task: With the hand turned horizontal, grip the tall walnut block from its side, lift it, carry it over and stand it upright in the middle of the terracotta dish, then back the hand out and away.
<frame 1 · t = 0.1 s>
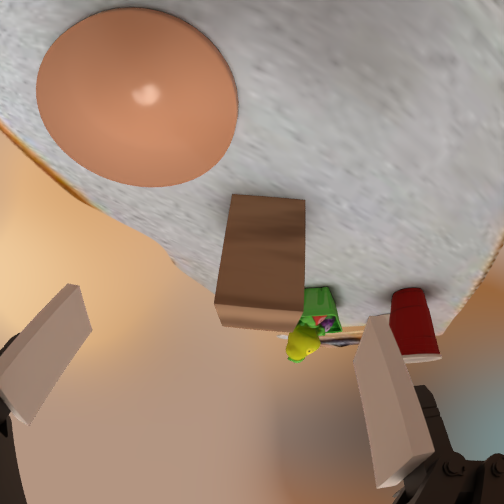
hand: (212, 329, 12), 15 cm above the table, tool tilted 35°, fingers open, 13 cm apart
walnut block: (267, 217, 31), on the table
dish: (129, 106, 19), on the table
plastic cup: (406, 293, 46), on the table
fruit basket: (314, 296, 50), on the table
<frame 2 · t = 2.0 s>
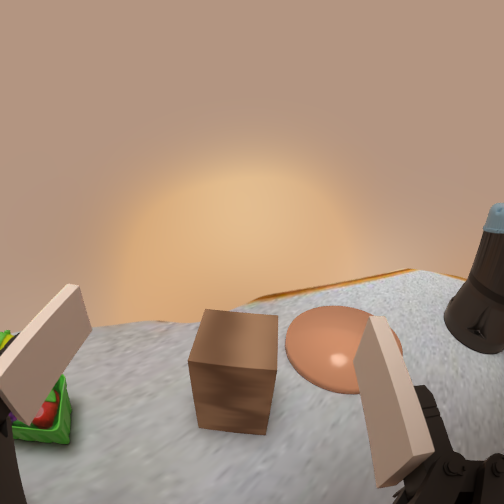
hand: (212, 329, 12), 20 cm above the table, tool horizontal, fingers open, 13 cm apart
walnut block: (235, 406, 30), on the table
dish: (344, 347, 39), on the table
fruit basket: (40, 421, 23), on the table
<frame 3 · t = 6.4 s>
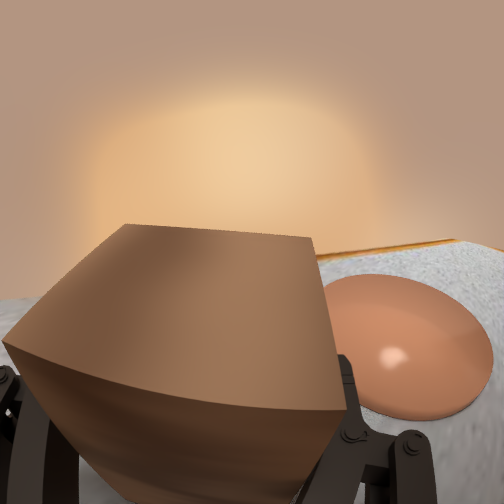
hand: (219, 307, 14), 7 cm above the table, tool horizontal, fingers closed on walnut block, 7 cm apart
walnut block: (207, 460, 12), on the table, touching gripper
dish: (404, 337, 21), on the table
when the fingers open (9 cm above the table, at t = 11.6 s): walnut block stays where it is, resting on dish.
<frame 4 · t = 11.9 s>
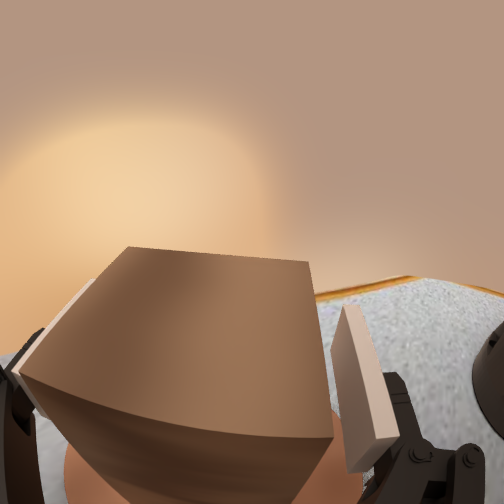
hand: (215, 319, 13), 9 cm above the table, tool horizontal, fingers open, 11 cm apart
walnut block: (209, 467, 13), point 1 cm above the table, touching dish
dish: (209, 473, 13), on the table
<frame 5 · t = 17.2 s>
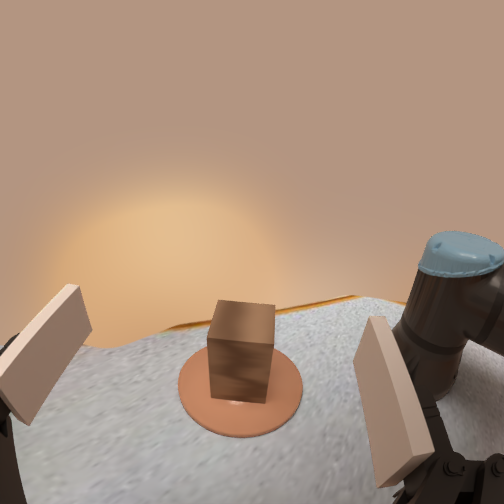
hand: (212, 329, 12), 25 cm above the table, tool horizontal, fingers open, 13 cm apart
walnut block: (240, 381, 38), point 1 cm above the table, touching dish
dish: (240, 386, 38), on the table
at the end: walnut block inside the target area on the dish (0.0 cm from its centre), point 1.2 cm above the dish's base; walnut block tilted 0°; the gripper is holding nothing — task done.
